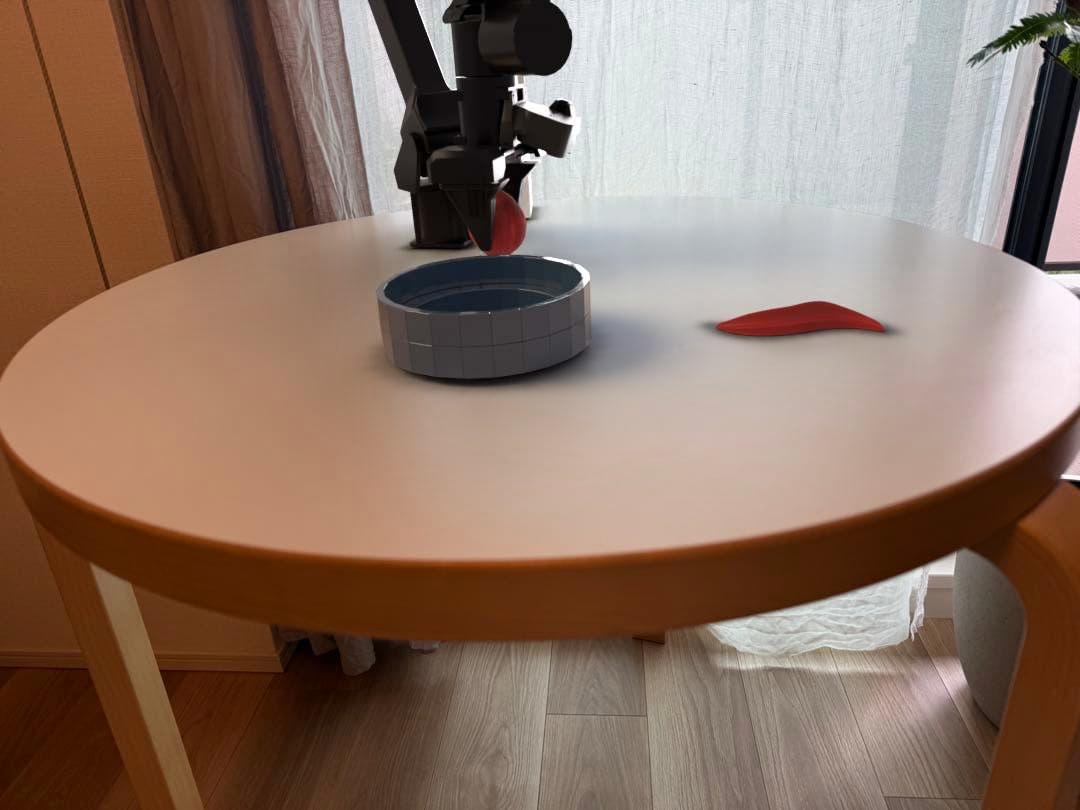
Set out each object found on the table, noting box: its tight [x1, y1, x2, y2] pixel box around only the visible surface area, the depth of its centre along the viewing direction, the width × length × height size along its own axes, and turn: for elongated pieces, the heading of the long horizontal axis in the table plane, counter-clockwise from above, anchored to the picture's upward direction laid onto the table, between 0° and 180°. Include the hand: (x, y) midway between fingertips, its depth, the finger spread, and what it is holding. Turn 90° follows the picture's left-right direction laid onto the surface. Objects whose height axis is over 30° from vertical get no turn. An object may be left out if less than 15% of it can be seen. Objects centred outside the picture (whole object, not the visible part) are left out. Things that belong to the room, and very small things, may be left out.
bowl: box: [374, 254, 592, 380], centre depth 60 cm, size 15×15×5 cm
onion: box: [468, 189, 527, 255], centre depth 82 cm, size 6×6×8 cm
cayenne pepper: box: [715, 300, 886, 337], centre depth 61 cm, size 12×5×2 cm, turn 72°
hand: (498, 241), depth 83 cm, fingers open, 7 cm apart
